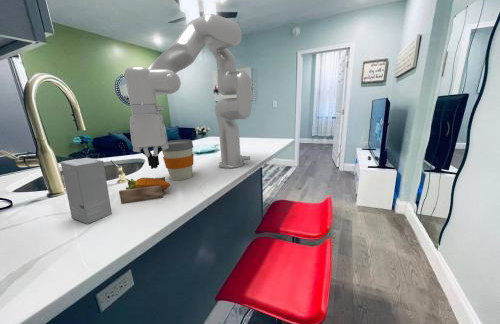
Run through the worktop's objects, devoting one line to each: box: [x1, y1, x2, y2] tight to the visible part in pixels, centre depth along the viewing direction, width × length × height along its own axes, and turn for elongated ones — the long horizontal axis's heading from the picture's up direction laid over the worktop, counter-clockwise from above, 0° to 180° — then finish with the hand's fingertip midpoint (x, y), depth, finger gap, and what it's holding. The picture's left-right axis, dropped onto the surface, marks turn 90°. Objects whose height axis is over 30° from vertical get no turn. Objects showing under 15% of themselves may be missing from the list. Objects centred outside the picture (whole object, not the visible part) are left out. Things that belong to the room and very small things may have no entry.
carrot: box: [125, 177, 171, 190], centre depth 70 cm, size 5×5×15 cm
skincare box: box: [60, 157, 113, 225], centre depth 55 cm, size 8×7×16 cm
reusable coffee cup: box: [161, 139, 194, 181], centre depth 86 cm, size 13×13×15 cm
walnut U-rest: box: [118, 176, 167, 205], centre depth 70 cm, size 12×10×4 cm
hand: (154, 167), depth 69 cm, fingers closed
